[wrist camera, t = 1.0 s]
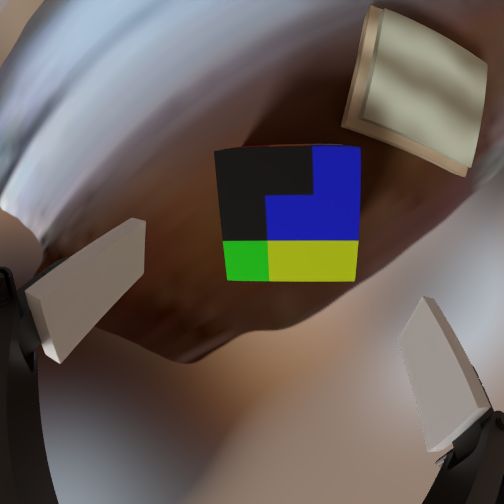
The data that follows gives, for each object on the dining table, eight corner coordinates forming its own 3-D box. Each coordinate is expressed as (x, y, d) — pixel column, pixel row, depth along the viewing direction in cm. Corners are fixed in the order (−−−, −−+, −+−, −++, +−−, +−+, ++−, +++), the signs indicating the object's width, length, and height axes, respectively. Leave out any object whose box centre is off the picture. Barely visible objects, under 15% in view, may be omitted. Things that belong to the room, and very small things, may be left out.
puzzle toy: (339, 144, 26) (360, 147, 17) (339, 236, 30) (354, 281, 21) (241, 146, 27) (214, 151, 18) (248, 237, 31) (227, 280, 22)
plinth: (364, 15, 19) (375, -3, 15) (471, 68, 18) (494, 62, 14) (340, 126, 25) (349, 124, 20) (452, 172, 24) (475, 180, 20)
